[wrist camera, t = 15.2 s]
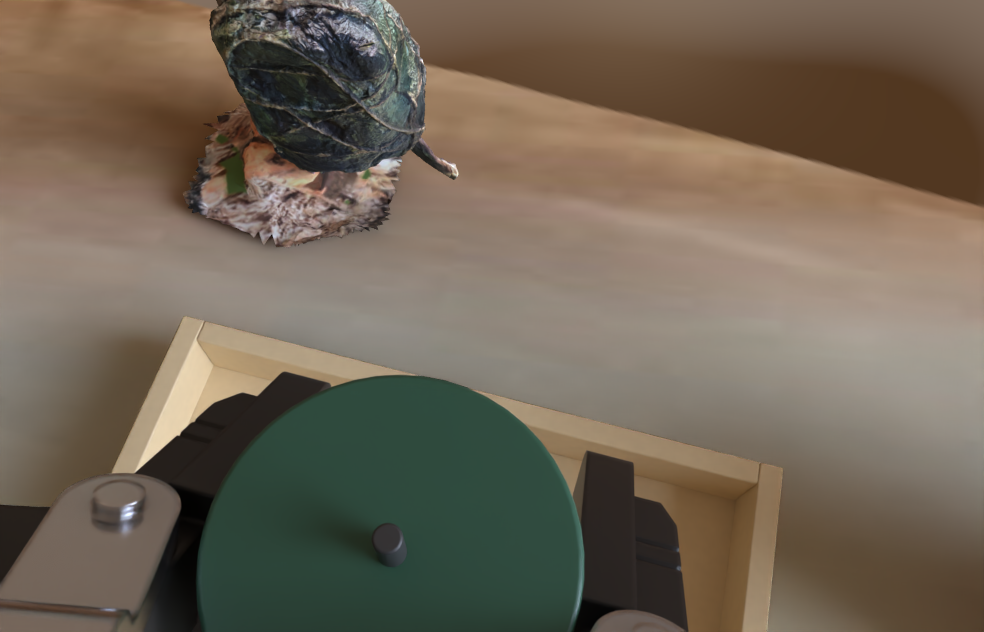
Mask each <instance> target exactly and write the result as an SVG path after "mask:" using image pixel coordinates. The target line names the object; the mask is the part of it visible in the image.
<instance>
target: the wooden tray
mask: <svg viewBox="0 0 984 632" xmlns="http://www.w3.org/2000/svg"><path fill="white" fill-rule="evenodd" d="M284 371H286V372H290V373H294V374H297V375H301V376H305V377H309V378H313V379H317V380H321V381H324V382H328V383H330V384H331V387H332V386H336V385H339V384H342V383H346V382H349V381H352V380H356V379H362V378H368V377H373V376H383V375H414V376H419V375H415V374H411V373H407V372H403V371H399V370H395V369H391V368H387V367H383V366H379V365H375V364H371V363H368V362H364V361H360V360H356V359H352V358H348V357H344V356H340V355H336V354H332V353H328V352H324V351H320V350H317V349H313V348H309V347H305V346H301V345H297V344H293V343H289V342H285V341H281V340H277V339H273V338H269V337H266V336H262V335H258V334H254V333H250V332H246V331H242V330H238V329H234V328H230V327H226V326H222V325H219V324H215V323H211V322H204V321H203V320H199V319H195V318H192V317H188V316H184V317H183V319H182V321H181V323H180V325H179V327H178V329H177V331H176V334H175V336H174V338H173V340H172V342H171V344H170V347H169V349H168V351H167V353H166V355H165V357H164V359H163V362H162V364H161V366H160V368H159V370H158V372H157V375H156V377H155V379H154V381H153V383H152V385H151V388H150V390H149V392H148V394H147V396H146V398H145V400H144V403H143V405H142V407H141V409H140V411H139V413H138V416H137V418H136V420H135V422H134V424H133V426H132V428H131V431H130V433H129V435H128V437H127V439H126V441H125V444H124V446H123V448H122V450H121V452H120V454H119V456H118V459H117V461H116V463H115V465H114V467H113V469H112V472H111V474H112V473H133V474H134V473H135V472H136V471H137V470H138V469H140V468H141V467H142V466H143V465H144V464H145V463H146V462H147V461H149V460H150V459H151V458H152V457H153V456H154V455H155V454H157V453H158V452H159V451H160V450H161V449H162V448H163V447H164V446H166V445H167V444H168V443H169V442H170V441H171V440H172V439H173V438H175V437H176V436H177V435H178V436H180V434H181V431H182V430H184V429H185V428H186V427H187V426H188V425H189V424H190V423H191V422H195V420H196V418H197V417H198V416H199V415H201V414H202V413H203V412H204V411H205V410H206V409H207V408H208V407H210V406H211V405H212V404H213V403H214V402H217V401H220V400H223V399H225V398H228V397H231V396H233V395H236V394H239V393H242V392H243V393H247V394H251V395H255V396H258V395H259V394H260V393H261V392H262V391H263V390H264V389H265V388H266V387H267V386H268V385H269V384H270V383H271V382H272V381H273V380H274V379H275V378H276V377H277V376H278V375H279V374H281V373H282V372H284ZM469 389H470V388H469ZM471 390H473V389H471ZM474 391H476V392H478V393H480V394H482V395H484V396H486V397H488V398H490V399H491V400H493V401H495V402H496V403H498V404H499V405H501V406H503V407H504V408H506V409H507V410H508V411H510V412H511V413H512V414H513V415H515V416H516V417H517V418H518V419H519V420H521V421H522V422H523V423H524V424H525V425H526V426H527V427H528V428H529V429H530V430H531V431H532V432H533V433H534V434H535V435H536V436H537V437H538V439H539V440H540V441H541V442H542V443H543V445H544V446H545V447H546V449H547V450H548V452H549V453H550V454H551V456H552V457H553V458H554V460H555V461H556V463H557V465H558V467H559V469H560V471H561V472H562V474H563V476H564V478H565V480H566V482H567V484H568V487H569V489H570V492H571V494H572V496H573V492H574V489H575V485H576V481H577V478H578V474H579V471H580V467H581V464H582V460H583V457H584V454H585V452H586V450H588V451H592V452H596V453H599V454H603V455H607V456H611V457H615V458H619V459H622V460H626V461H630V462H633V464H634V494H635V496H637V497H640V498H644V499H648V500H652V501H656V502H659V503H661V504H662V505H663V507H664V508H665V509H666V511H667V512H668V514H669V515H670V517H671V518H672V519H673V521H674V522H675V524H676V525H677V531H678V540H679V553H680V558H681V571H682V576H683V585H684V594H685V604H686V613H687V622H688V631H689V632H767V623H768V613H769V604H770V594H771V584H772V574H773V565H774V555H775V545H776V535H777V526H778V516H779V506H780V496H781V486H782V477H783V468H780V467H776V466H773V465H769V464H765V463H760V464H759V462H756V461H752V460H748V459H744V458H740V457H736V456H732V455H728V454H724V453H721V452H717V451H713V450H709V449H705V448H701V447H697V446H693V445H689V444H685V443H681V442H677V441H674V440H670V439H666V438H662V437H658V436H654V435H650V434H646V433H642V432H638V431H634V430H630V429H626V428H623V427H619V426H615V425H611V424H607V423H603V422H599V421H595V420H591V419H587V418H583V417H579V416H575V415H572V414H568V413H564V412H560V411H556V410H552V409H548V408H544V407H540V406H536V405H532V404H528V403H524V402H521V401H517V400H513V399H509V398H505V397H501V396H497V395H493V394H489V393H485V392H481V391H477V390H474Z"/></svg>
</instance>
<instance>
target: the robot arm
mask: <svg viewBox="0 0 984 632" xmlns="http://www.w3.org/2000/svg"><path fill="white" fill-rule="evenodd" d="M330 387H331V384H330V383H328V382H324V381H321V380H317V379H313V378H309V377H305V376H301V375H297V374H294V373H290V372H286V371H284V372H282V373H281V374H279V375H278V376H277V377H276V378H275V379H274V380H273V381H272V382H271V383H270V384H269V385H268V386H267V387H266V388H265V389H264V390H263V391H262V392H261V393H260V394H259V395H258V396H255V395H251V394H247V393H243V392H242V393H239V394H236V395H233V396H231V397H228V398H225V399H223V400H220V401H217V402H214V403H213V404H212V405H211V406H210V407H208V408H207V409H206V410H205V411H204V412H203V413H202V414H201V415H199V416H198V417H197V418H196V420H195V422H191V423H190V424H189V425H188V426H187V427H186V428H185V429H184V430H182V431H181V434H180V436H178V435H177V436H176V437H175V438H173V439H172V440H171V441H170V442H169V443H168V444H167V445H166V446H164V447H163V448H162V449H161V450H160V451H159V452H158V453H157V454H155V455H154V456H153V457H152V458H151V459H150V460H149V461H147V462H146V463H145V464H144V465H143V466H142V467H141V468H140V469H138V470H137V471H136V472H135V473H134V474H133V473H112V474H104V475H99V476H94V477H90V478H87V479H84V480H82V481H79V482H77V483H75V484H73V485H71V486H70V487H68V488H67V489H65V490H64V491H63V492H62V493H61V494H60V495H59V496H58V497H57V498H56V500H55V501H54V503H53V504H52V506H51V507H31V506H13V505H0V632H202V630H201V625H200V620H199V615H198V610H197V596H196V570H197V556H198V550H199V545H200V541H201V536H202V531H203V527H204V524H205V521H206V518H207V515H208V512H209V509H210V506H211V504H212V502H213V500H214V497H215V495H216V493H217V491H218V489H219V487H220V485H221V483H222V481H223V479H224V478H225V476H226V475H227V473H228V471H229V470H230V468H231V467H232V465H233V464H234V462H235V460H236V459H237V458H238V457H239V455H240V454H241V453H242V452H243V451H244V449H245V448H246V447H247V446H248V444H249V443H250V442H251V441H252V440H253V439H254V438H255V437H256V436H257V435H258V434H259V433H260V432H261V431H262V430H263V429H264V428H265V427H266V426H267V425H268V424H269V423H271V422H272V421H273V420H275V419H276V418H277V417H279V416H280V415H281V414H282V413H284V412H285V411H286V410H288V409H289V408H291V407H292V406H294V405H296V404H298V403H299V402H301V401H303V400H304V399H306V398H308V397H310V396H312V395H314V394H316V393H318V392H321V391H323V390H325V389H328V388H330ZM572 497H573V500H574V502H575V505H576V509H577V513H578V517H579V521H580V525H581V529H582V537H583V545H584V554H585V556H584V586H583V593H582V601H581V607H580V611H579V614H578V618H577V622H576V626H575V629H574V632H689V631H688V622H687V613H686V604H685V594H684V585H683V576H682V571H681V558H680V553H679V540H678V531H677V525H676V524H675V522H674V521H673V519H672V518H671V517H670V515H669V514H668V512H667V511H666V509H665V508H664V507H663V505H662V504H661V503H659V502H656V501H652V500H648V499H644V498H640V497H637V496H635V494H634V464H633V462H630V461H626V460H622V459H619V458H615V457H611V456H607V455H603V454H599V453H596V452H592V451H588V450H586V452H585V454H584V457H583V460H582V464H581V467H580V471H579V474H578V478H577V481H576V485H575V489H574V492H573V496H572Z"/></svg>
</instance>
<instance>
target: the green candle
mask: <svg viewBox="0 0 984 632" xmlns="http://www.w3.org/2000/svg"><path fill="white" fill-rule="evenodd" d="M584 556H585V554H584V545H583V537H582V529H581V525H580V521H579V517H578V513H577V509H576V505H575V502H574V500H573V497H572V494H571V492H570V489H569V487H568V484H567V482H566V480H565V478H564V476H563V474H562V472H561V471H560V469H559V467H558V465H557V463H556V461H555V460H554V458H553V457H552V456H551V454H550V453H549V452H548V450H547V449H546V447H545V446H544V445H543V443H542V442H541V441H540V440H539V439H538V437H537V436H536V435H535V434H534V433H533V432H532V431H531V430H530V429H529V428H528V427H527V426H526V425H525V424H524V423H523V422H522V421H521V420H519V419H518V418H517V417H516V416H515V415H513V414H512V413H511V412H510V411H508V410H507V409H506V408H504V407H503V406H501V405H499V404H498V403H496V402H495V401H493V400H491V399H490V398H488V397H486V396H484V395H482V394H480V393H478V392H476V391H474V390H471V389H469V388H467V387H464V386H461V385H458V384H455V383H452V382H449V381H446V380H441V379H435V378H430V377H425V376H414V375H383V376H373V377H368V378H362V379H356V380H352V381H349V382H346V383H342V384H339V385H336V386H332V387H330V388H328V389H325V390H323V391H321V392H318V393H316V394H314V395H312V396H310V397H308V398H306V399H304V400H303V401H301V402H299V403H298V404H296V405H294V406H292V407H291V408H289V409H288V410H286V411H285V412H284V413H282V414H281V415H280V416H279V417H277V418H276V419H275V420H273V421H272V422H271V423H269V424H268V425H267V426H266V427H265V428H264V429H263V430H262V431H261V432H260V433H259V434H258V435H257V436H256V437H255V438H254V439H253V440H252V441H251V442H250V443H249V444H248V446H247V447H246V448H245V449H244V451H243V452H242V453H241V454H240V455H239V457H238V458H237V459H236V460H235V462H234V464H233V465H232V467H231V468H230V470H229V471H228V473H227V475H226V476H225V478H224V479H223V481H222V483H221V485H220V487H219V489H218V491H217V493H216V495H215V497H214V500H213V502H212V504H211V506H210V509H209V512H208V515H207V518H206V521H205V524H204V527H203V531H202V536H201V541H200V545H199V550H198V556H197V570H196V596H197V610H198V615H199V620H200V625H201V630H202V632H574V629H575V626H576V622H577V618H578V614H579V611H580V607H581V601H582V593H583V586H584Z"/></svg>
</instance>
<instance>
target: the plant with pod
mask: <svg viewBox="0 0 984 632" xmlns="http://www.w3.org/2000/svg"><path fill="white" fill-rule="evenodd" d="M216 1H217V3H218V5H219V6H218V7H217V8H216V9H214V10H213V11H211V18H210V20H209V21H210V30H211V36H212V40H213V42H214V44H215V46H216V48H217V50H218V52H219V53H220V55H221V57H222V59H223V61H224V63H225V65H226V67H227V70H228V73H229V76H230V77H231V79H232V80H233V81H234V84H235V87H236V89H237V90H238V92H239V94H240V95H241V96H242V97H243V99H244V102H245V104H243V103H242V104H240V105H239V106H238V107H237V108H236V109H235V110H234V111H228V112H224V113H229V115H221V116H217V118H218V122H219V123H207V124H205V125H207V126H210V127H213V128H215V129H218V130H219V131H217V132H215V133H214V134H212V135H210V136H208V137H207V138H205V139H208V140H212V141H214V142H213V143H211V144H209V145H207V146H206V147H205V149H206V158H197V159H198V163H199V167H198V168H197V169H196V171H197V172H198V173H199V174H198V175H195V176H192V177H193V178H195V179H196V180H198V181H188V182H189V184H190V186H191V188H192V189H191V190H189V191H186V192H184V193H183V194H184V197H185V202H186V203H187V204H189V205H190V206H189V207H188V208H190V209H193V211H192V213H195V212H199V213H200V214H201V215H206V218H209V217H210V218H211V219H214V220H220V221H221V222H222V224H228V225H230V226H231V227H237V228H239V229H240V230H242V231H244V232H248V233H250V234H251V235H252V236H253V237H255V235H256V234H257V232H258V231H259V234H260V237H261V240H262V243H263V245H264V244H265V242H266V241H267V240H268V238H269V237H270V236H271V234H272V235H273V238H274V241H275V244H276V247H287V248H289V247H290V246H291V245H292V244H293V243H294V244H295V246H296V244H298V246H299V244H300V243H301V242H302V243H303V244H304V243H306V242H308V241H314V239H315V237H316V238H317V239H318V240H320V237H321V236H322V237H326V238H328V237H332V236H335V235H336V236H338V237H340V238H342V235H343V234H344V235H348V234H349V231H351V232H353V228H354V229H356V230H359V231H361V232H362V230H363V229H366V230H368V231H369V228H368V227H371V228H374V229H377V230H378V228H377V225H382V222H381V221H384V220H389V219H388V218H385V217H386V216H388V215H390V213H387V212H384V211H389V210H390V208H389V206H388V204H389V203H390V202H391V200H392V196H393V195H394V194H395V192H396V190H395V188H394V186H393V184H392V182H391V180H400V179H399V178H398V176H397V175H396V174H397V173H399V172H400V171H401V170H398V169H395V168H397V167H399V166H401V164H400V163H398V162H397V161H400V162H402V159H401V156H402V155H404V154H406V152H407V151H408V150H412V151H413V152H414V153H415V154H416V155H417V156H419V157H420V158H421V159H422V160H423V161H425V162H426V163H428V164H429V165H431V166H432V167H433V168H435V169H437V170H438V171H440V172H442V173H443V174H445V175H446V176H448V177H449V178H451V179H453V180H454V179H456V178H457V176H458V174H459V173H458V170H457V169H456V165H455V164H454V163H450V162H446V161H445V160H444V159H442V158H440V159H439V158H437V157H436V156H435V155H434V154H433V152H432V150H431V149H430V148H429V146H427V145H426V143H425V142H424V140H423V139H422V138H421V135H422V133H423V131H424V130H425V123H424V115H425V101H424V98H425V89H424V88H425V85H426V67H425V66H424V64H423V60H422V58H420V53H419V49H420V48H419V44H418V43H417V42H415V40H414V39H413V38H412V37H411V36H410V30H409V29H408V27H407V26H405V25H404V23H403V21H402V18H401V17H400V14H399V13H398V12H396V10H395V9H394V8H393V6H392V5H390V4H389V3H388V2H387V1H386V0H216ZM396 160H397V161H396ZM353 233H354V232H353Z"/></svg>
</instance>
